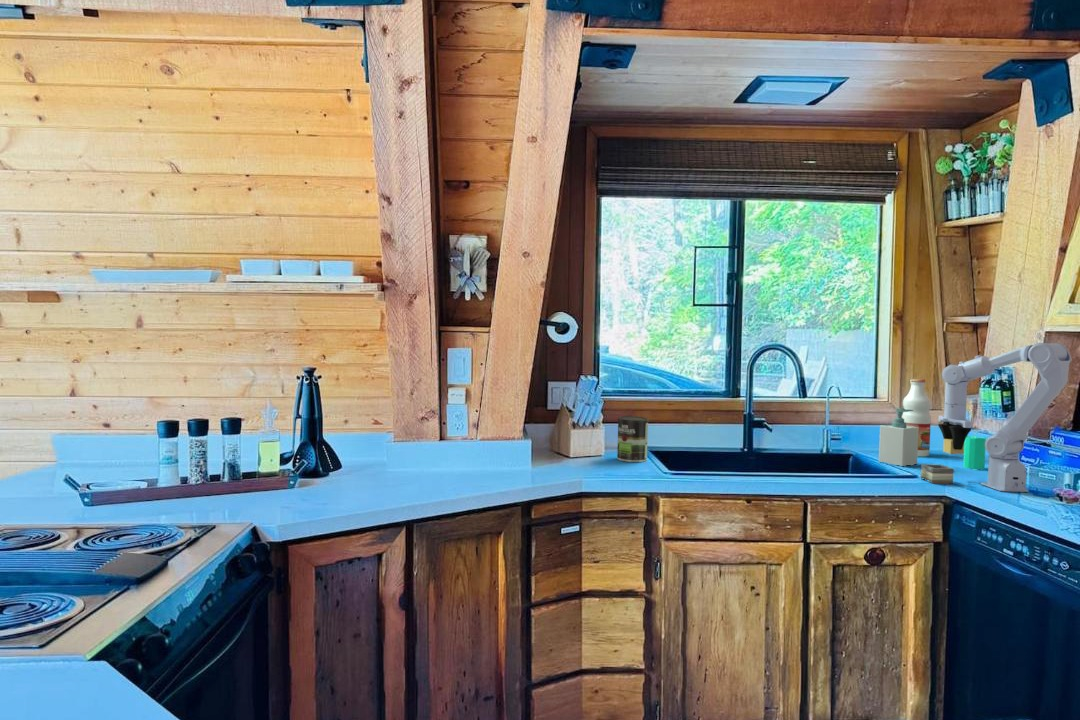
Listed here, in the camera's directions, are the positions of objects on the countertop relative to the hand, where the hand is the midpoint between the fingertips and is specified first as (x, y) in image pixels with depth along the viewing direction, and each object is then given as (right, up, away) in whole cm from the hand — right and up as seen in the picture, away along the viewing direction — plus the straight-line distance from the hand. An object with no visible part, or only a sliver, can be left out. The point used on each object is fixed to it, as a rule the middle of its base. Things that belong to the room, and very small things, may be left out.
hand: (953, 448), depth 211 cm
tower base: (-8, -9, -4) cm, 13 cm away
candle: (+18, -9, +18) cm, 27 cm away
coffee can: (-96, -7, +22) cm, 99 cm away
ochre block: (0, -1, 0) cm, 1 cm away
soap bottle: (-5, -9, +24) cm, 26 cm away
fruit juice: (+11, -8, +42) cm, 44 cm away
